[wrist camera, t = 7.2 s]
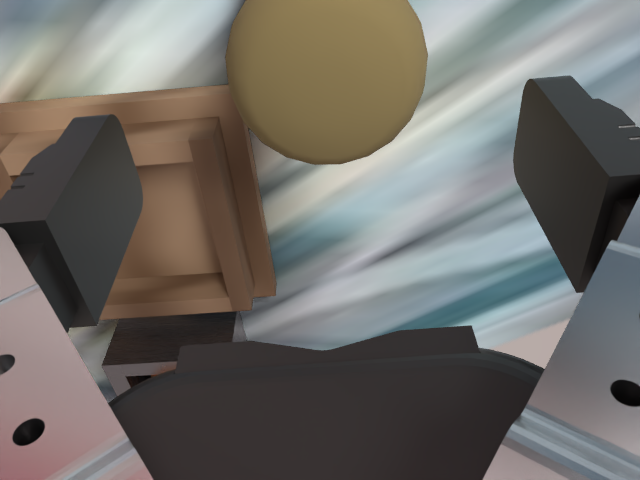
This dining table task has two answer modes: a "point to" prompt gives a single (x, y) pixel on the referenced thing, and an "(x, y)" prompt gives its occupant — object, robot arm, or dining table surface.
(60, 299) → the robot arm
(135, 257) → the crate
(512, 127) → the dining table surface
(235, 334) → the button housing
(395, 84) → the khaki rounded elongated piece
